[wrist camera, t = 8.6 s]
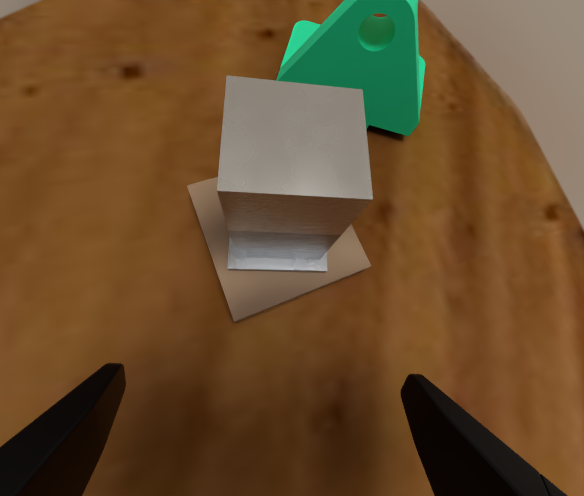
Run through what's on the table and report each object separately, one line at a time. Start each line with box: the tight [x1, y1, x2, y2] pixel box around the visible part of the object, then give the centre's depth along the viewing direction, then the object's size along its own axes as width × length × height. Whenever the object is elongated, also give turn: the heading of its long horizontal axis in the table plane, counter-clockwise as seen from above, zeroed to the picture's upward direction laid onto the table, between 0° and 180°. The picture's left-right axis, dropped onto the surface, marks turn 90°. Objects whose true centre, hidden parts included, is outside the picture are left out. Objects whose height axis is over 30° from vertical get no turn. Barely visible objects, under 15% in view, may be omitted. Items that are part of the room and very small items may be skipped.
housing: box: [217, 76, 373, 273], centre depth 15 cm, size 6×6×10 cm
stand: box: [187, 177, 371, 322], centre depth 20 cm, size 10×10×2 cm
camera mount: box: [276, 0, 425, 136], centre depth 21 cm, size 12×8×10 cm, turn 77°
